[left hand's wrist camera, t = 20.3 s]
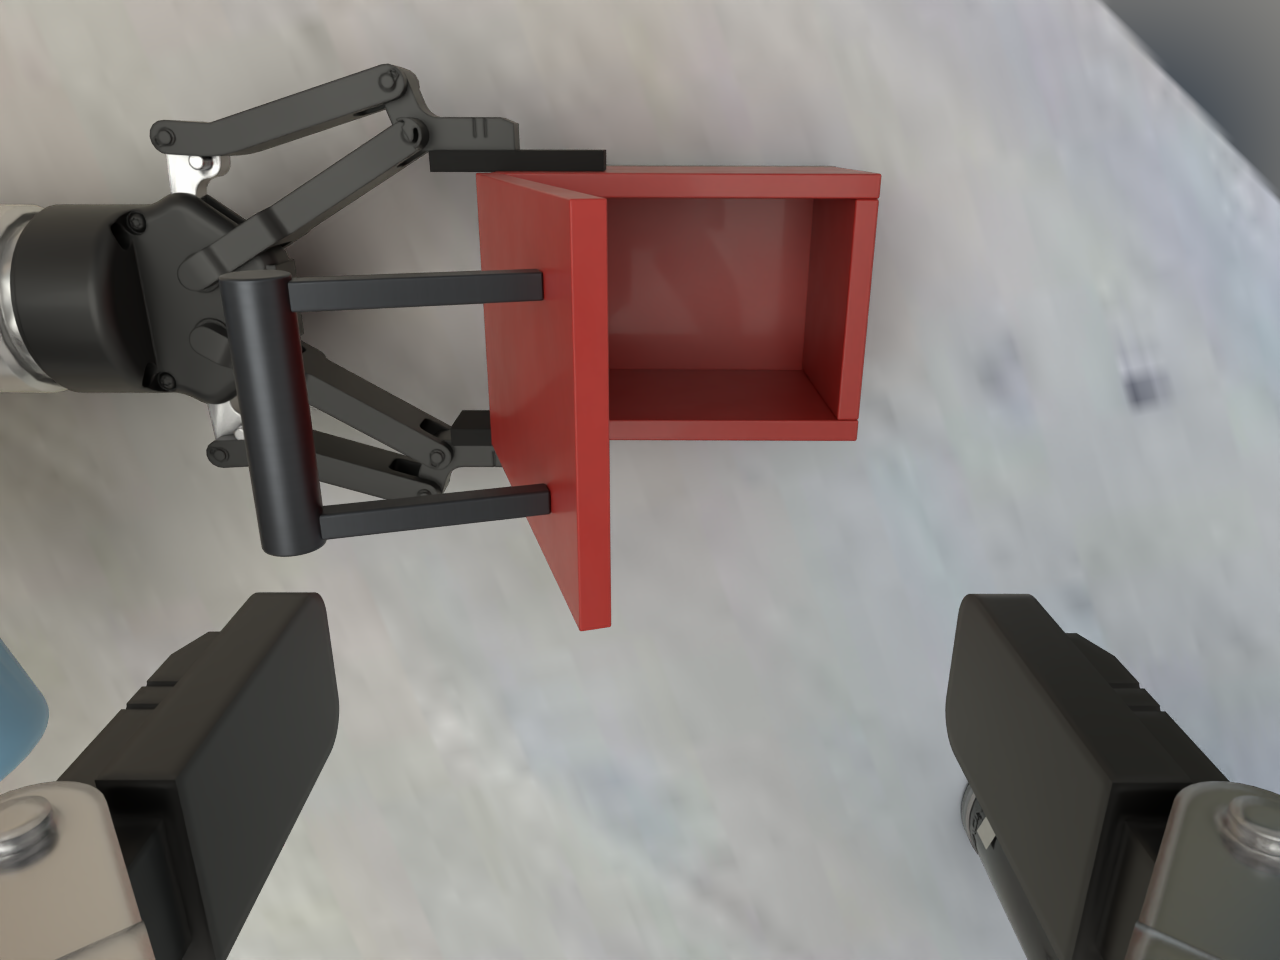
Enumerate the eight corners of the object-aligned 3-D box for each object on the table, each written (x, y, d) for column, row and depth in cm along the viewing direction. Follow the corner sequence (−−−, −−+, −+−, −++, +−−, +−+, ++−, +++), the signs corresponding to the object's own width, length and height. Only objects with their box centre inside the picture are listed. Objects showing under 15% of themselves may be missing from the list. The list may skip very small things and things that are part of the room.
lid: (607, 198, 19) (178, 205, 16) (611, 627, 22) (260, 680, 20) (498, 172, 32) (254, 174, 30) (511, 442, 36) (295, 462, 33)
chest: (831, 166, 41) (882, 173, 32) (815, 382, 45) (857, 441, 36) (521, 165, 41) (488, 172, 32) (530, 381, 45) (503, 440, 36)
